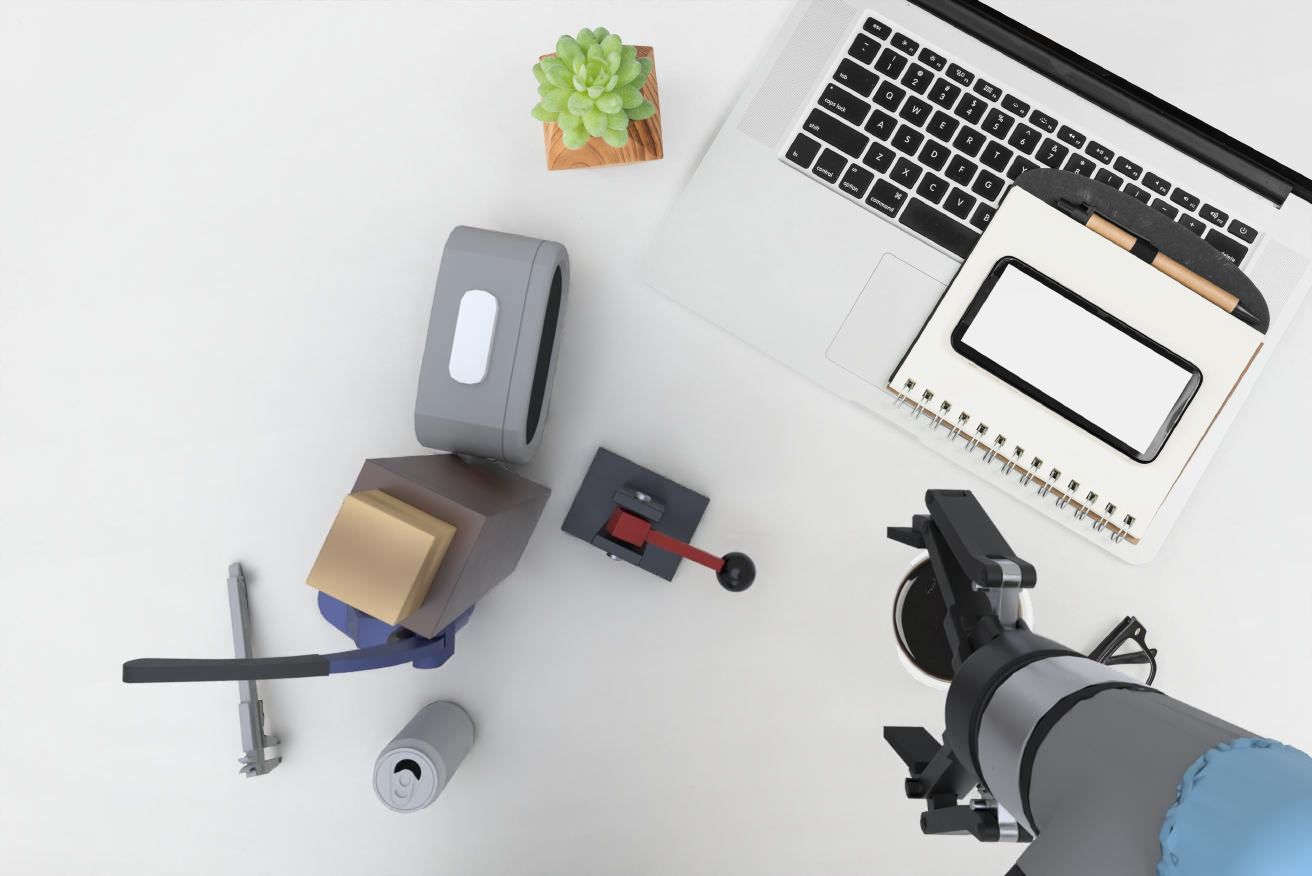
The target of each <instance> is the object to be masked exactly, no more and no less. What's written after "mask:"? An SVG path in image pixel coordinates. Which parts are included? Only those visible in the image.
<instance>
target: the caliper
mask: <svg viewBox="0 0 1312 876" xmlns="http://www.w3.org/2000/svg"><path fill="white" fill-rule="evenodd" d="M226 585H227V596H228V602H229V604H228V605H229V611H230V622H231V631H232V639H233V648H234V657H235V658H234V659H242V658H254V653H253V652H254V651H253V643H252V634H251V625H250V617H249V616H250V615H249V607H248V598H247V590H246V580H245V576H243V575H242V569H241V564H240V563H238V562H237V563H233V564H230V565H228V578H227V577H226ZM237 684H238V692H239V702H240V703H238V705H237V707H238V708H237V709H238V716H239V726H240V736H241V746H242V752H243V753H245V756H244V757H240V758H237V761H238V763H241V764H242V765H243V766H242V767H241V768H240V770H239V771H238V774H239V775H240V774H244V773H245V776H246V779H249V778H253V777H258V776H259V777H260V776H263V775H267V774H269V773H270V772H272V771H274V769H276V768H278V766H279V765H281V764H282V762H283V756H278V757H274V758H273V757H272V758H270V759H266V757H265V756H266V755H265V749H267V748H272V747H276V746H277V745H280V744H281V741H280V739H279V738H277V737H274V736H270V735H268V734H265V730H264V727H265V712H264V701H263V699H259V694H258V686H257V680H240V681H237Z"/></svg>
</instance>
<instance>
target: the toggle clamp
mask: <svg viewBox="0 0 1312 876" xmlns="http://www.w3.org/2000/svg"><path fill="white" fill-rule="evenodd" d="M710 501H711V499H710V498H709V497H708V496H705V495H703V494H702V493H699V492H697V491H695V490H693V489H691V488H689V487H687V486H685V485H683V484H680V483H678V482H676V481H674V480H672V479H670V478H668V477H666V476H663V475H661V474H659V473H657V472H655V471H653V470H650V469H648V468H646V467H645V466H642V465H641V464H638V463H636V462H634V461H632V460H630V459H628V458H626V457H623V456H621V455H619V454H617V453H615V452H613V451H611V450H609V449H607V448H605V447H602V446H599V447H598V449H597V451H596V454H595V456H594V458H593V460H592V462H591V463H590V466H589V468H588V471H587V472H586V475H585V477H584V479H583V481H582V483H581V485H580V487H579V490H578V492H577V493H576V496H575V498H574V500H573V502H572V504H571V506H570V509H569V511H568V512H567V515H566V517H565V518H564V521H563V523H562V526H561V528H560V530H561V531H563V532H564V533H566V534H569V535H571V536H573V537H575V538H577V539H580V540H582V541H584V542H585V543H588V544H590V545H592V546H594V547H596V548H598V549H600V550H602V551H604V552H606V556H607V557H608V558H609V559H612V560H614V561H617V562H622V560H623V561H625V562H627V563H629V564H631V565H633V566H635V567H638V568H640V569H642V570H644V571H647V572H649V573H650V574H653V575H654V576H657V577H658V578H661V579H663V580H665V581H667V582H670V583H671V582H672V581H673V579H674V577H675V575H676V572H677V570H678V568H679V566H680V564H681V562H682V560H683V558H684V557H682V556H680V555H677V554H675V553H673V552H670V551H668V550H665V549H663V548H661V547H658V546H656V545H654V544H651V543H649V542H646V541H644V542H643V544H642V546H641V547H639V546H636V545H634V544H631V543H629V542H627V541H624V540H622V539H619V538H617V537H615V536H612V535H611V534H610V532H609V531H608V530H607V529H606V527H607V525H608V523H609V520H610V518H611V516H612V514H613V512H614V510H615V508H616V506H619V507H622V508H624V509H626V510H629V511H631V512H633V513H635V514H638V515H640V516H642V517H644V518H646V519H647V520H648V521H649V522H650V523H651V524H652V525H651V527H650V528H652V529H654V530H656V531H659V532H661V533H663V534H666V535H668V536H670V537H673V538H675V539H677V540H680V541H682V542H684V543H687V544H689V545H690V543H691V541H692V538H693V536H694V534H695V532H696V530H697V528H698V526H699V524H700V522H701V520H702V518H703V515H704V514H705V511H706V509H707V508H708V505H709V503H710Z"/></svg>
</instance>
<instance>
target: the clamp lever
mask: <svg viewBox="0 0 1312 876" xmlns="http://www.w3.org/2000/svg"><path fill="white" fill-rule="evenodd" d="M651 525H652V524H651V523H650V522H649V521H648V520H647V519H646V518H644V517H642V516H640V515H638V514H635V513H633V512H631V511H629V510H626V509H624V508H622V507H619V506H616V508H615V510H614V512H613V514H612V516H611V518H610V520H609V523H608V525H607V527H606V529H607V530H608V531H609V532H610V534H611V535H612V536H615V537H617V538H619V539H622V540H624V541H627V542H629V543H631V544H634V545H636V546H639V547H641V546H642V544H643V542H644V541H646V542H649V543H651V544H654V545H656V546H658V547H661V548H663V549H665V550H668V551H670V552H673V553H675V554H677V555H680V556H682V557H683V558H684V559H687V560H690V561H692V562H694V563H697V564H698V565H702V566H704V567H705V568H708V569H711V570H712V571H715V577H716V580H717V582H718V583H719V585H720V586H721V588H723V589H724V590H727V591H728V592H730V593H742V592H745V591H747V590H748V589H750V588H751V586H753V584H754V582H755V581H756V577H757V566H756V564H755V562H754V560H753V559H752V558H751V557H750V556H749V555H748V554H746V553H744V552H741V551H730V552H727V553H725V554H723V556H721V557H719V556H718V555H715V554H712V553H710V552H708V551H705V550H703V549H701V548H698V547H697V546H694V545H692V544H690V543H689V544H687V543H684V542H682V541H680V540H677V539H675V538H673V537H670V536H668V535H666V534H663V533H661V532H659V531H656V530H654V529H652V528H650V527H651Z"/></svg>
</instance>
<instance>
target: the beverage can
mask: <svg viewBox="0 0 1312 876" xmlns="http://www.w3.org/2000/svg"><path fill="white" fill-rule="evenodd" d="M474 738H475V730H474V724H473V722H472V720H471V718H470V716H469V715H468V713H466V712H465V710H463V709H462V707H460V706H459V705H456V704H454V703H451V702H447V701H437V702H432V703H430V704H428V705H425V706H424V707H423V708H421V709H420V710H419V711H417V713H416V714H415V715H414V716H413V717H412V718H411V719H410V721H408V722H407V723H406V725H405V726H404V727H403V728H402V729H401V730H400V731H399V732H398V733H397V734H396V736H394V738H393V739H392V740H391V741H390V742H389V743H388V744H387V745H386V746H385V747H384V748H383V749H382V750H381V752H380V753H379V755H378V756H377V758H376V760H375V764H374V768H373V773H372V786H373V791H374V793H375V796H376V798H377V799H378V800H379V802H380V803H381V804H382V805H383V806H384V807H385V808H387V809H389V810H390V811H393V812H395V813H399V814H412V813H416V812H419V811H421V810H423V809H425V808H428V807H430V806H432V804H434V803H435V802H436V801H437V799H438V798H439V797H440V796H441V794H442V793H443V791H444V790H445V788H446V787H447V786H448V784H449V782H450V781H451V780H452V778H453V777H454V775H455V773H456V772H457V770H458V768H459V767H460V765H461V764H463V761H464V760H465V759H466V757H467V755H468V754H469V752H470V750H471V748H472V746H473V743H474Z"/></svg>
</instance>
